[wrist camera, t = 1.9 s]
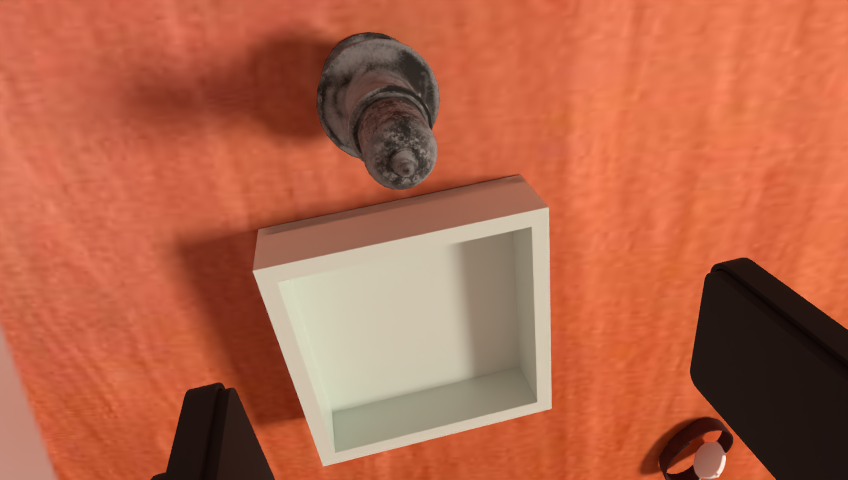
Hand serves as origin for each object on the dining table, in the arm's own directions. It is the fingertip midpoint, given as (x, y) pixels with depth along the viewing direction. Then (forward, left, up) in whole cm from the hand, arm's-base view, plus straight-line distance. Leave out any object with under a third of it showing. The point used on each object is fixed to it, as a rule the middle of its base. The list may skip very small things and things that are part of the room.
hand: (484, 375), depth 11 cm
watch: (+38, +23, -22) cm, 50 cm away
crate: (+15, 0, -22) cm, 26 cm away
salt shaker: (0, 0, -22) cm, 22 cm away
